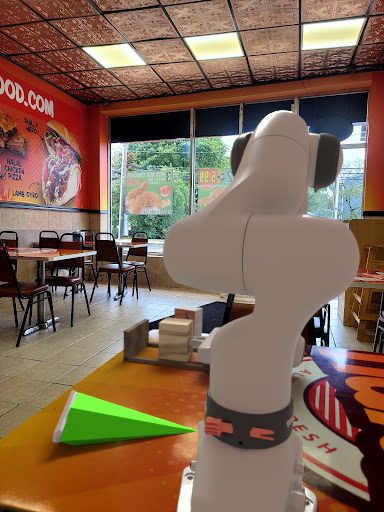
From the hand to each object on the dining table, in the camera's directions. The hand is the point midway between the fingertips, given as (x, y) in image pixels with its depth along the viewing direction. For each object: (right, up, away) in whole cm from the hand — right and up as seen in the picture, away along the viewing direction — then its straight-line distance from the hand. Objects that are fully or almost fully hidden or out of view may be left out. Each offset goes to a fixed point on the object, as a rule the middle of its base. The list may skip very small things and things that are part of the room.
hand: (190, 340), depth 98 cm
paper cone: (-12, -9, -32) cm, 36 cm away
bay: (-5, -6, +2) cm, 8 cm away
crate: (-4, -5, +1) cm, 6 cm away
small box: (-1, -5, +21) cm, 22 cm away
